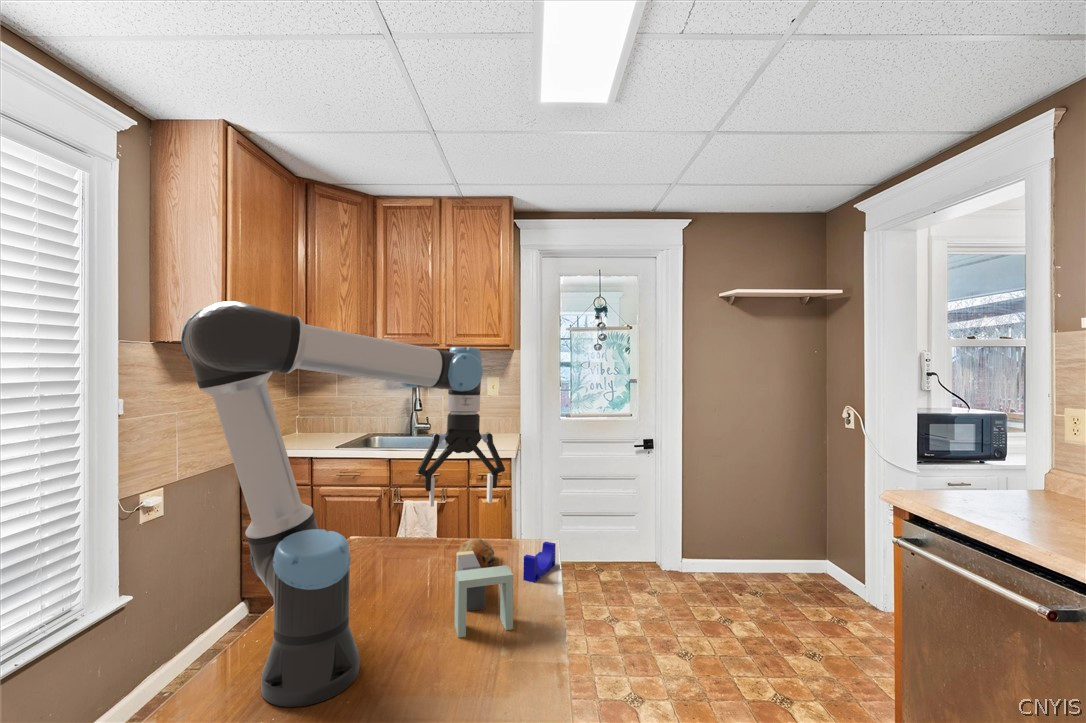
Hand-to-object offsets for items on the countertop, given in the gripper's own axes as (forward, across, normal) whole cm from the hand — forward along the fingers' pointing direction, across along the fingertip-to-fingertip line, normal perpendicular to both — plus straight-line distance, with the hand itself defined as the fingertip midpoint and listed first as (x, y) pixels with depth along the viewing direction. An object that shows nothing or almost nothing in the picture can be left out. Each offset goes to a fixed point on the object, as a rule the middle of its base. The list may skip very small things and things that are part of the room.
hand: (460, 503), depth 121 cm
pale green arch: (+20, +2, -18) cm, 27 cm away
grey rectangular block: (+20, +2, -2) cm, 21 cm away
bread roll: (+20, +8, +16) cm, 27 cm away
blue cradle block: (+20, +21, +5) cm, 30 cm away
